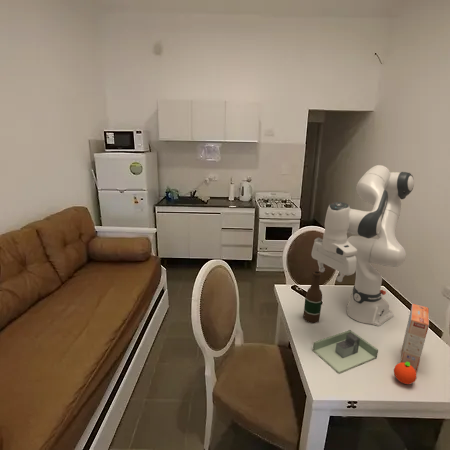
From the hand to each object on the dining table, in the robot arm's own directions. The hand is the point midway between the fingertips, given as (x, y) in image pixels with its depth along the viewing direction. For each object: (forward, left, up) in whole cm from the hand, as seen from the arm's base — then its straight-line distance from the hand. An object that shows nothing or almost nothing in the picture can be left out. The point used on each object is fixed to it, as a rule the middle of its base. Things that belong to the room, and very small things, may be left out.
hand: (330, 276), depth 126 cm
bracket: (-1, +12, -28) cm, 31 cm away
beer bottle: (-5, -13, -29) cm, 32 cm away
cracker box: (-21, +25, -29) cm, 44 cm away
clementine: (-9, +31, -29) cm, 44 cm away
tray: (0, +12, -29) cm, 31 cm away
